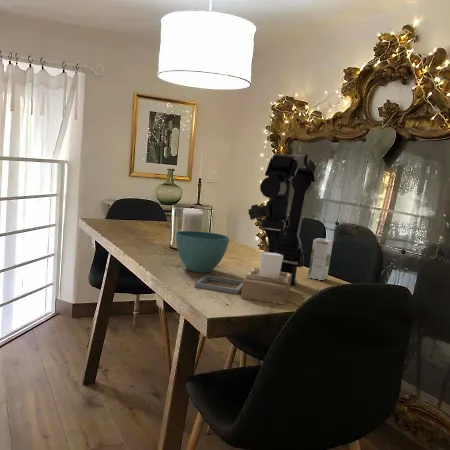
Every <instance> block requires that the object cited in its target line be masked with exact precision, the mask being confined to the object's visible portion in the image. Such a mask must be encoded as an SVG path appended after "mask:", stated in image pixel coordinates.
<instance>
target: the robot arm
mask: <svg viewBox="0 0 450 450" xmlns="http://www.w3.org/2000/svg"><path fill="white" fill-rule="evenodd" d="M264 176H265V178H264V179H263V180H262V181H261V183H260V186H259V188H260V189H259V190H260V193H261V195H262V196H264V197H265V198H268V200H267V201H266V205H262V206H259V204H258V203H257V204H252V205H251V206H250V208H249V209H247V210H248V215H249V219H250V221H251V220H255V219H258V218H263V217H264V219H262V220H261V228H262V230H263V231H264V232H265V234H266V235H267V244H268V245H267V246H268V252H269V253H278V254H281V255H283V260H282V265H281V269H280V272H285V273H291V274H292V277H291V285H290V286H296V285H297V283H298V280H296V279H297V272H298V271H297V269H298V268H303V267H304V262H305V261H304V253H303V251H304V250H303V248H302V247H303V244H302V242H301V239H300V234H301V228H302V223H303V218H304V214H305V208H306V203H307V202H306V201H307V198H308V195H309V193H310V192H311V191H312V190H313V189H314V188H315V183H317V181H318V169H317V165H316V164H315V163H314V162H313V161H312V159H311V156H310V154H309V153H304V152H295V153H292V154H281V153H280V154H279V153H274V154H273V155H272V157H270V160H269V162H268V165H267V167H266V171H265V173H264ZM291 189H293V194H292V198H291V203H290V197H291ZM289 206H290V209H289ZM288 212H289V214H288Z"/></svg>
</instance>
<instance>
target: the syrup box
mask: <svg viewBox="0 0 450 450" xmlns="http://www.w3.org/2000/svg"><path fill="white" fill-rule="evenodd" d="M333 243H334V241H333V240H331V239H328V238H323V237H321V238H320V237H318V238H314V239H313V241H312V249H311V255H310V260H309V268H308V273H307V278H308V279H310V278H313V279H312V280H314V279H318V280H317V281H320V280H324V281H326V280H328V277H329V270H330V262H331V256H332V250H333ZM325 279H326V280H325Z"/></svg>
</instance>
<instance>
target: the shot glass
mask: <svg viewBox="0 0 450 450" xmlns="http://www.w3.org/2000/svg"><path fill="white" fill-rule="evenodd" d="M282 260H283V255H281V254H278V253H275V252H273V253H269V251H260V253H259V269H260V275H259V276H265V277H272V278H279V274H280V269H281V265H282Z"/></svg>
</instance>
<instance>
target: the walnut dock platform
mask: <svg viewBox="0 0 450 450" xmlns="http://www.w3.org/2000/svg"><path fill="white" fill-rule="evenodd" d="M259 275H260V267H252V268H251V269H250V270H249V271H248V272H247V273H246V275H245V277H244V278H243V280H242V281H243V285H242V290H241V292H240V293H241V294H240V299H245V298H247V299H246V300H251V299H253V301H257V300H260V301H259V302H263V301H267V302H266V303H269V302H275V303H281V304H284V305H285V303H286V301H285V300H287V298H286V297H288V296H287V295H289V293H290V291H289V290H291V286H292V285H291V277H292V274H291V273H285V272H280V274H279V278H272V277H265V276H259ZM288 292H289V293H288ZM284 302H285V303H284ZM275 303H274V304H275ZM281 304H280V305H281Z"/></svg>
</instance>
